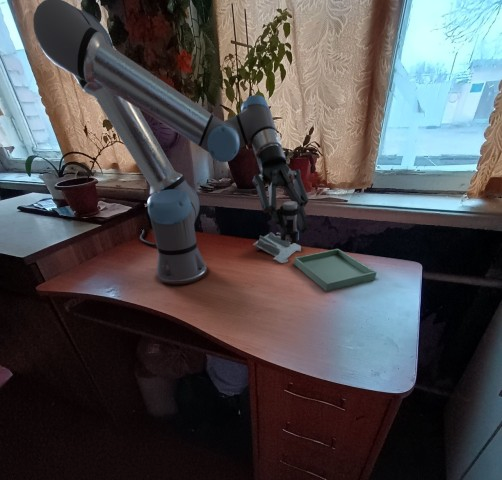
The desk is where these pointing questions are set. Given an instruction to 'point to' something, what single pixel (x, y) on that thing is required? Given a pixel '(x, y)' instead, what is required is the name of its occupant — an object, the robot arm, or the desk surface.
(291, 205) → the push button
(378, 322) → the desk surface
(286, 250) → the metal bracket
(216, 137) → the robot arm
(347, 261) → the tray
